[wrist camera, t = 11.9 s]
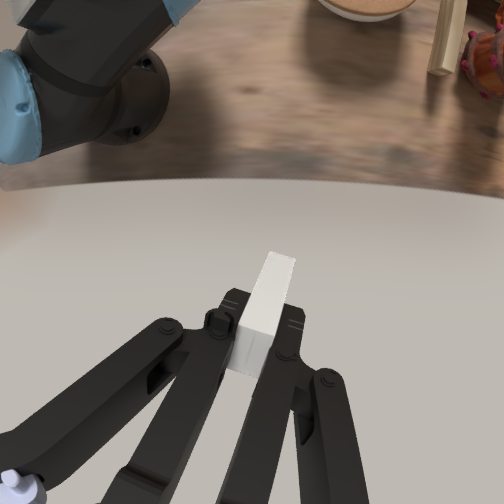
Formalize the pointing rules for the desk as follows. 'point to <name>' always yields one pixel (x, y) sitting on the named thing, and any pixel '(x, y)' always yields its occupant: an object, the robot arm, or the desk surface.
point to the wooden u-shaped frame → (448, 37)
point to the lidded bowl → (367, 8)
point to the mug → (486, 59)
